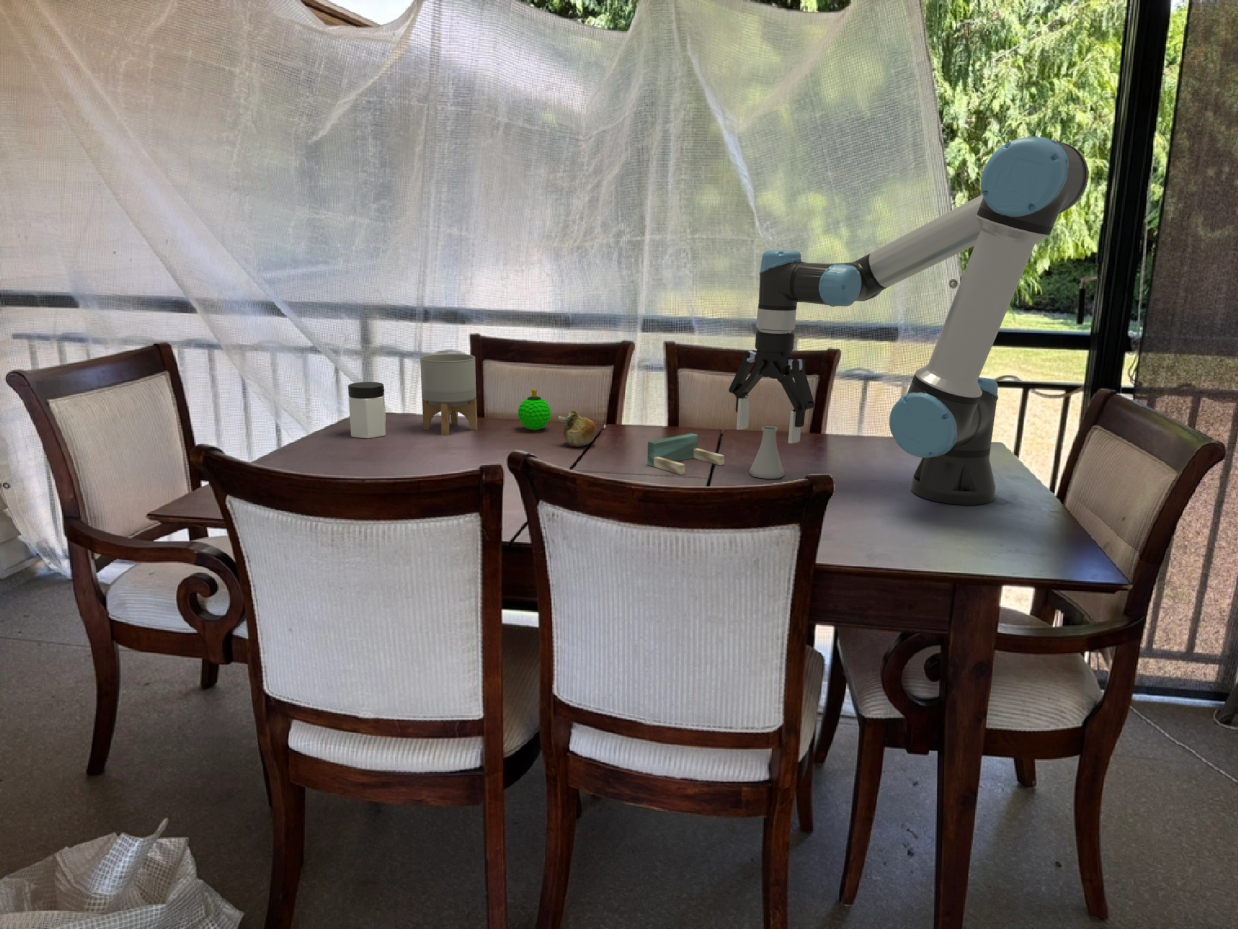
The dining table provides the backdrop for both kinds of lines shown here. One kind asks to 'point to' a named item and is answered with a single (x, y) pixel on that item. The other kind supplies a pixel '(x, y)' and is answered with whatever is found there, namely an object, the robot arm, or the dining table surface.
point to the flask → (767, 457)
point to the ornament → (534, 412)
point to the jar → (367, 409)
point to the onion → (578, 429)
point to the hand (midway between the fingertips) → (767, 435)
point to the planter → (448, 389)
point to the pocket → (678, 453)
